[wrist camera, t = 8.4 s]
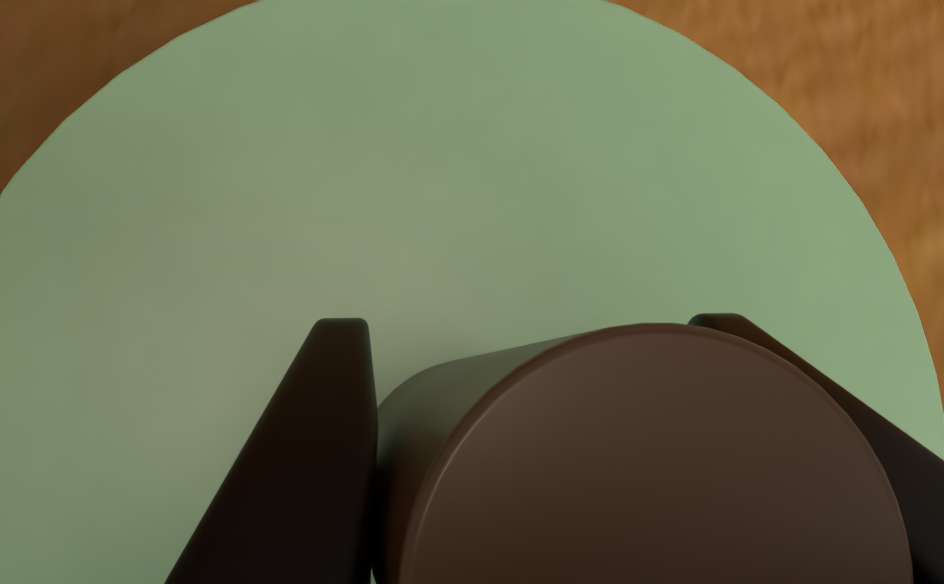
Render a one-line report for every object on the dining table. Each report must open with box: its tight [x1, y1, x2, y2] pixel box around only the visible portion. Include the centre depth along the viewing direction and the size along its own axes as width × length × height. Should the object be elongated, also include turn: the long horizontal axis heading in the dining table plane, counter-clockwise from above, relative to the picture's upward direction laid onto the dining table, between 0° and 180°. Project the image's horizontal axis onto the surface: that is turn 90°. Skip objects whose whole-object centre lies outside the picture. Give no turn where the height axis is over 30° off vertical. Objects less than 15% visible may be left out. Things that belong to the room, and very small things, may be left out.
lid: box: [0, 0, 944, 584], centre depth 8 cm, size 12×12×7 cm
